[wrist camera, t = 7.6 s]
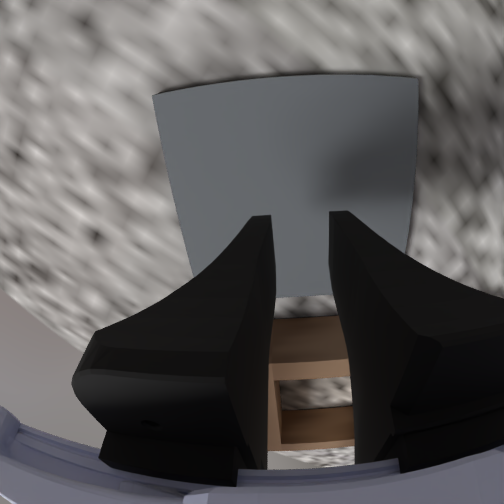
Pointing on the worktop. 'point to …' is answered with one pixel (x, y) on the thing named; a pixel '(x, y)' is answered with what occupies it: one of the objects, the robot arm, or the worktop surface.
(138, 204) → the worktop surface
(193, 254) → the mat
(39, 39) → the worktop surface
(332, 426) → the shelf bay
